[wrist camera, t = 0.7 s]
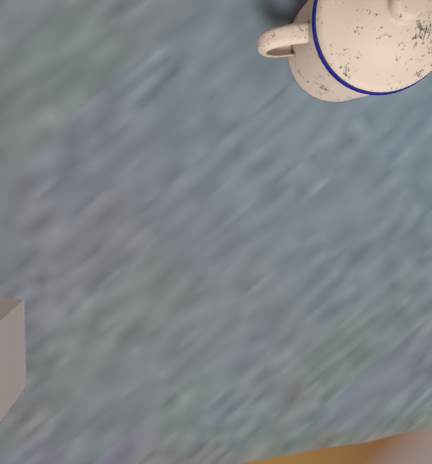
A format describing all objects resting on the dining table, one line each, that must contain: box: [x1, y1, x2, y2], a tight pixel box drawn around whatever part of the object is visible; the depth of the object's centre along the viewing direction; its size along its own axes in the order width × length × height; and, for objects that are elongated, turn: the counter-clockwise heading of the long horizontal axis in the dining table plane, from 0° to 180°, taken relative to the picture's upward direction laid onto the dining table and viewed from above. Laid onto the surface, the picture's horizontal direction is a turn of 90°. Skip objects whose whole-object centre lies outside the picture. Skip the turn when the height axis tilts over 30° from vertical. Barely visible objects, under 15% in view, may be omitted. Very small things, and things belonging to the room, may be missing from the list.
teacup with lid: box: [257, 0, 432, 102], centre depth 25 cm, size 12×9×12 cm
